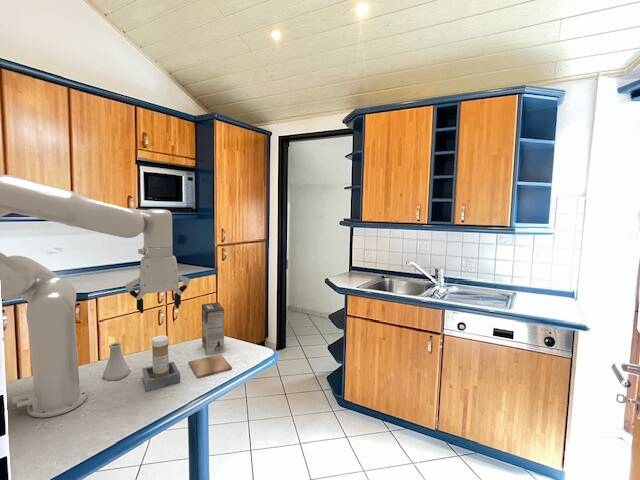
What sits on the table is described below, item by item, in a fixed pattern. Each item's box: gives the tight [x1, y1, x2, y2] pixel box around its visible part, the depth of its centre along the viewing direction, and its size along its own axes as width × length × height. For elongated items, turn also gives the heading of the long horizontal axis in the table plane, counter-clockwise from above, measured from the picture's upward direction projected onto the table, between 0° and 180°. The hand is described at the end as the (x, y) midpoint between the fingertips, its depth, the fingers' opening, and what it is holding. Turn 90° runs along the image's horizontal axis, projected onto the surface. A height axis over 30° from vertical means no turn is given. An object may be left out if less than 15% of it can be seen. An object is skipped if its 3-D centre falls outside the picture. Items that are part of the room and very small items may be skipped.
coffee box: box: [201, 301, 225, 356], centre depth 128 cm, size 9×6×16 cm
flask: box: [101, 342, 131, 382], centre depth 108 cm, size 7×7×10 cm
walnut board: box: [187, 353, 233, 379], centre depth 115 cm, size 11×11×1 cm
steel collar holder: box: [141, 361, 181, 392], centre depth 106 cm, size 9×9×3 cm
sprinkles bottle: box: [151, 334, 170, 379], centre depth 106 cm, size 5×5×14 cm
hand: (159, 309), depth 104 cm, fingers open, 9 cm apart
